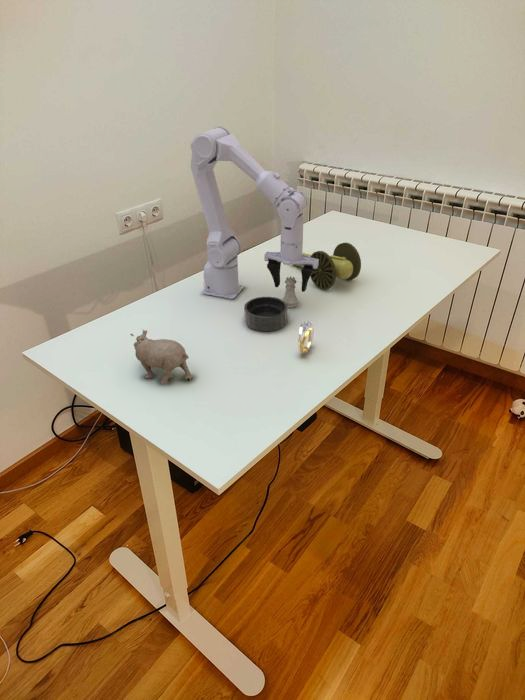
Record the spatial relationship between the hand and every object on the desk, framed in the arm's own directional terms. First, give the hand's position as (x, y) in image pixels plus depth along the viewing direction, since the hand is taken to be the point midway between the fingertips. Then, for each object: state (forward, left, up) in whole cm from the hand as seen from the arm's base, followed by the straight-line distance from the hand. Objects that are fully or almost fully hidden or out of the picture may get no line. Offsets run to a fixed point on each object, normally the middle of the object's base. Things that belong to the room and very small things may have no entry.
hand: (290, 288), depth 137 cm
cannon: (+3, +20, -5) cm, 21 cm away
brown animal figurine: (-18, -40, -5) cm, 44 cm away
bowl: (-3, -11, -5) cm, 13 cm away
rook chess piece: (0, 0, -5) cm, 5 cm away
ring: (+11, -21, -5) cm, 24 cm away
